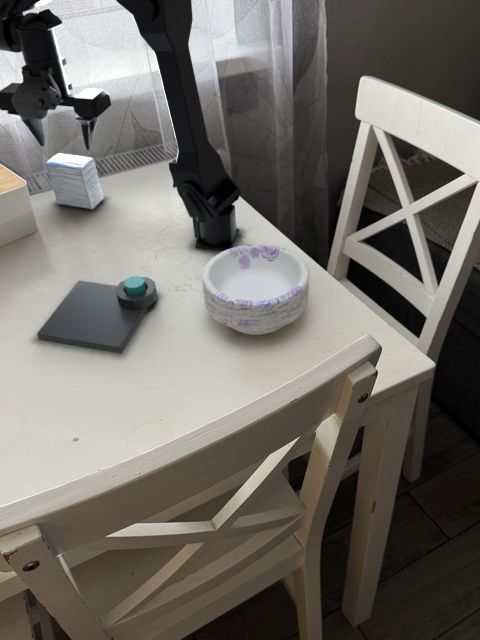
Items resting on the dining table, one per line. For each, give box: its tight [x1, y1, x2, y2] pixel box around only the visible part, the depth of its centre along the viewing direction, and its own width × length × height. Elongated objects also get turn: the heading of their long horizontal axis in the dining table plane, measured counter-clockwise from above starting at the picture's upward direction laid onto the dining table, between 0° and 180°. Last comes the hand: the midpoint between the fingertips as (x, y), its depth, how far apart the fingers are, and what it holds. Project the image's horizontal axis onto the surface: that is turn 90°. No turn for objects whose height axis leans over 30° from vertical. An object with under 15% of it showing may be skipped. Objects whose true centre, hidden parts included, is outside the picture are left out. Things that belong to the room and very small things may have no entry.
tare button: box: [124, 275, 146, 296], centre depth 90 cm, size 3×3×2 cm
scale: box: [36, 275, 158, 354], centre depth 89 cm, size 14×14×3 cm
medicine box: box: [45, 152, 105, 210], centre depth 112 cm, size 8×4×9 cm, turn 71°
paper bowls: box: [201, 243, 310, 336], centre depth 86 cm, size 15×15×8 cm
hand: (66, 147), depth 108 cm, fingers open, 9 cm apart
